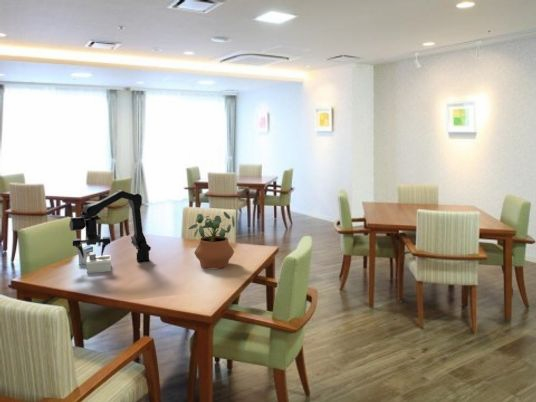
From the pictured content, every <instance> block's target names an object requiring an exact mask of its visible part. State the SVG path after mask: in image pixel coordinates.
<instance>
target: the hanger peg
mask: <svg viewBox="0 0 536 402" xmlns="http://www.w3.org/2000/svg"><path fill="white" fill-rule="evenodd" d="M96 253H97V252H96V251H93V252H90V254H89V259H90V260H96V256H97V254H96Z"/></svg>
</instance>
